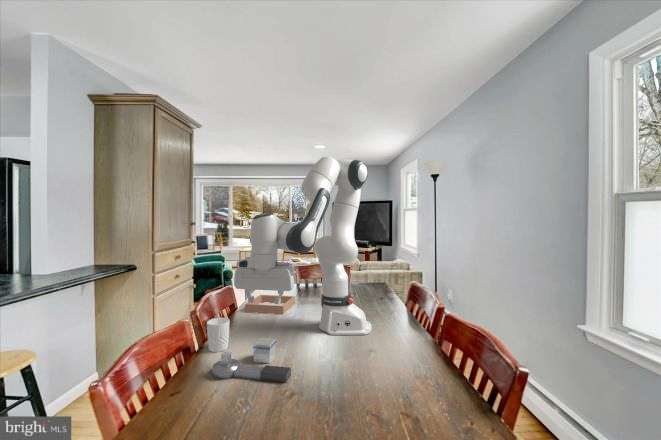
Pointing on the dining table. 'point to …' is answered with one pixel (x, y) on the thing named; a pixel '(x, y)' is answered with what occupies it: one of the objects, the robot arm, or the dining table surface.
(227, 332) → the white cup
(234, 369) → the ratchet
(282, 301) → the tray
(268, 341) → the pale grey cube
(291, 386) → the dining table surface
